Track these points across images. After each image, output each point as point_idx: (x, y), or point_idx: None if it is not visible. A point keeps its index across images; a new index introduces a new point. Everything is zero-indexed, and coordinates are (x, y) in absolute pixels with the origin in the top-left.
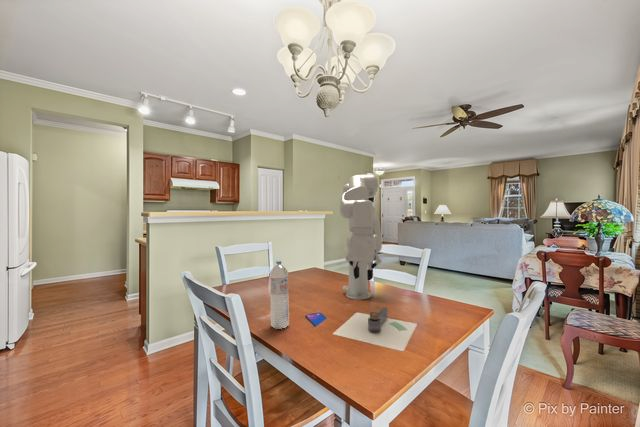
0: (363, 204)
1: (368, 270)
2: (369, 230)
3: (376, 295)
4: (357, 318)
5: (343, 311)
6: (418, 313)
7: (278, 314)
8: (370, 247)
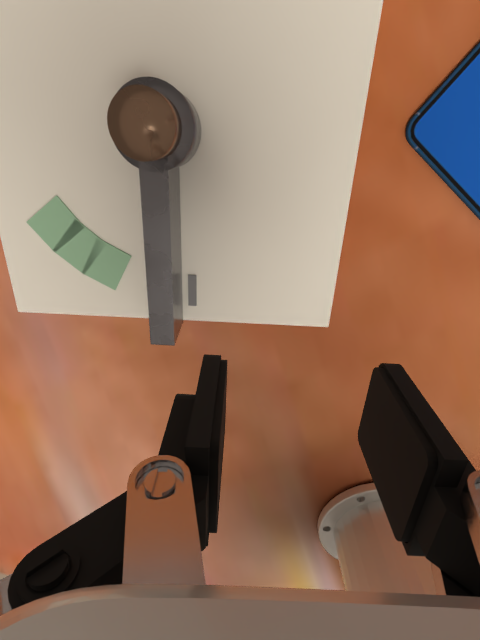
0: None
1: (196, 443)
2: None
3: (298, 547)
4: (303, 251)
5: (404, 343)
6: (81, 441)
7: None
8: None
